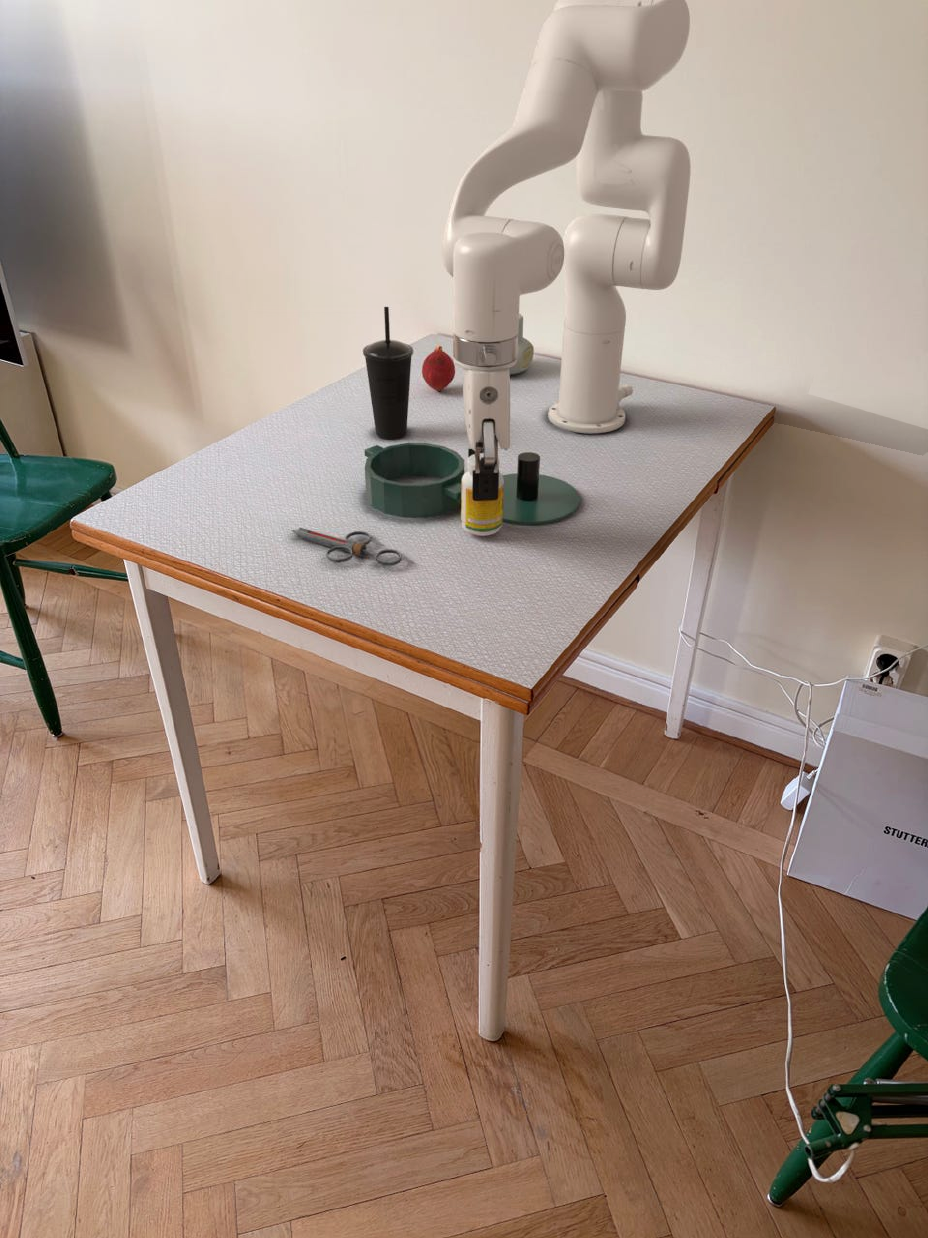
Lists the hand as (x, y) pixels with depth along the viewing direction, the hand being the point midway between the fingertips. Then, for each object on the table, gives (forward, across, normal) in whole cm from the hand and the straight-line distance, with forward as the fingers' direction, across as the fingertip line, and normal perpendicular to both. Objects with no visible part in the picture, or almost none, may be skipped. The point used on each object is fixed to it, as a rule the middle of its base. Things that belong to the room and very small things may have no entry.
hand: (482, 486), depth 120 cm
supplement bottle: (+6, 0, 0) cm, 6 cm away
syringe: (+7, -2, +18) cm, 20 cm away
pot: (+7, +11, +8) cm, 16 cm away
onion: (+7, +51, +3) cm, 52 cm away
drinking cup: (+7, +34, +11) cm, 36 cm away
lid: (+6, +9, -7) cm, 13 cm away
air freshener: (+7, +61, -10) cm, 62 cm away
